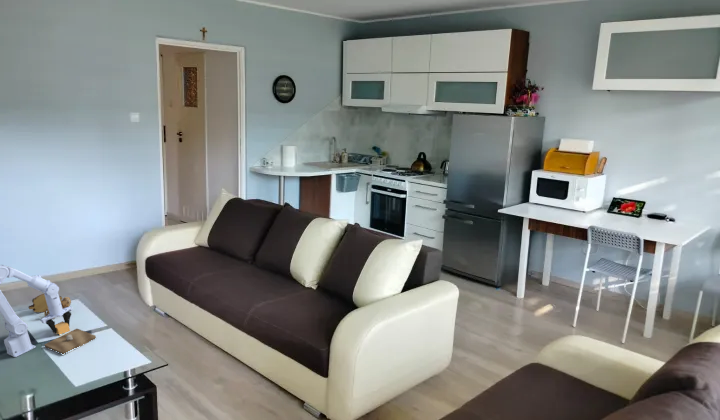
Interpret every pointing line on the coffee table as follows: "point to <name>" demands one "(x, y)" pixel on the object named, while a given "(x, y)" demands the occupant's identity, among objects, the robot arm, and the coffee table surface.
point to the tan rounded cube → (62, 327)
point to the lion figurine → (64, 303)
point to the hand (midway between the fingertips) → (61, 329)
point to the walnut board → (70, 341)
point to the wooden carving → (40, 303)
